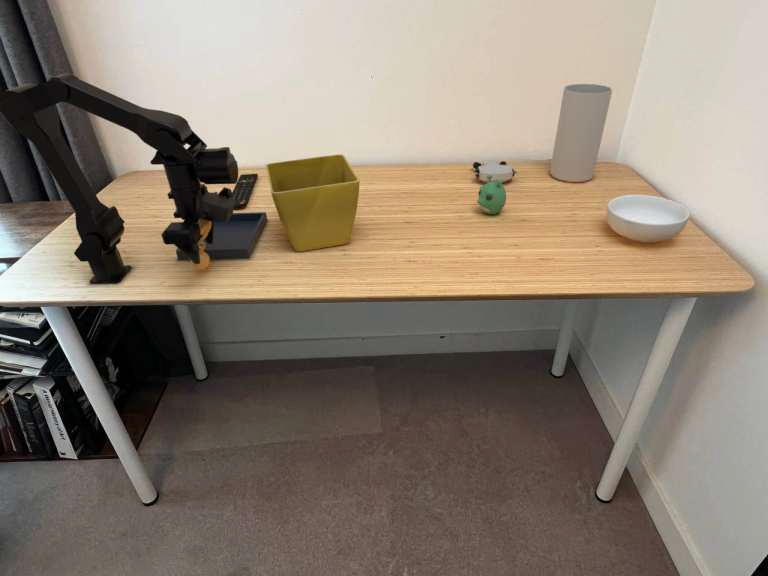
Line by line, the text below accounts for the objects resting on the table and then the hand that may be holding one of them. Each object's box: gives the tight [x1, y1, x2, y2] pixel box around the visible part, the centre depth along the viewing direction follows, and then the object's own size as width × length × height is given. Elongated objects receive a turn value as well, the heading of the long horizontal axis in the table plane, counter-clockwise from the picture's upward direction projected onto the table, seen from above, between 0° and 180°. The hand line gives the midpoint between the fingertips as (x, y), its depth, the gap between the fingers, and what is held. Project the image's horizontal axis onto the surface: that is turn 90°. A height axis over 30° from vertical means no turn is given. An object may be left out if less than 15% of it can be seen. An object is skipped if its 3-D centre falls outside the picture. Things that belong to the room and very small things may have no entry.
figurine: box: [189, 219, 212, 270], centre depth 101 cm, size 8×6×12 cm
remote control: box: [232, 173, 259, 211], centre depth 142 cm, size 5×24×1 cm, turn 4°
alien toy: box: [476, 175, 507, 215], centre depth 123 cm, size 7×8×10 cm
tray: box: [175, 211, 268, 261], centre depth 118 cm, size 20×17×2 cm
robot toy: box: [470, 158, 519, 184], centre depth 145 cm, size 12×4×15 cm
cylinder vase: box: [549, 83, 613, 183], centre depth 139 cm, size 12×12×25 cm
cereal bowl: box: [606, 194, 690, 244], centre depth 111 cm, size 17×17×7 cm
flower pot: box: [265, 153, 360, 253], centre depth 113 cm, size 19×19×17 cm
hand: (204, 253), depth 102 cm, fingers closed on figurine, 8 cm apart
